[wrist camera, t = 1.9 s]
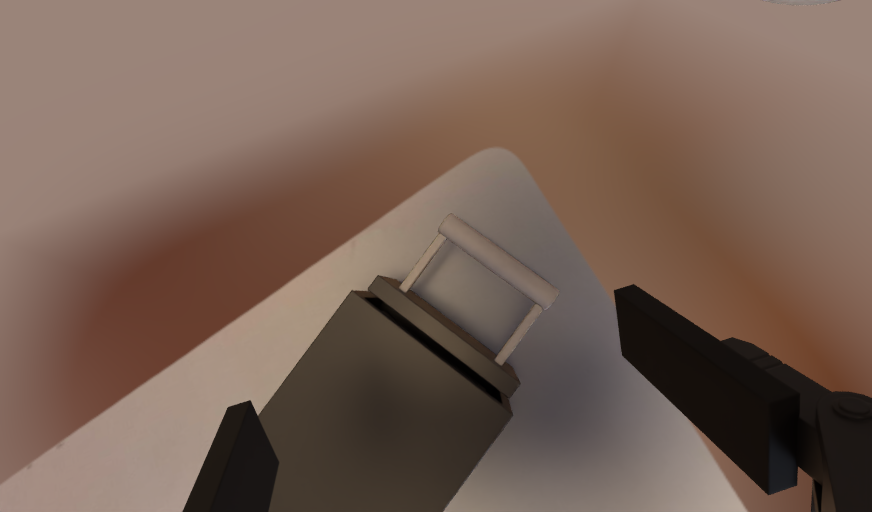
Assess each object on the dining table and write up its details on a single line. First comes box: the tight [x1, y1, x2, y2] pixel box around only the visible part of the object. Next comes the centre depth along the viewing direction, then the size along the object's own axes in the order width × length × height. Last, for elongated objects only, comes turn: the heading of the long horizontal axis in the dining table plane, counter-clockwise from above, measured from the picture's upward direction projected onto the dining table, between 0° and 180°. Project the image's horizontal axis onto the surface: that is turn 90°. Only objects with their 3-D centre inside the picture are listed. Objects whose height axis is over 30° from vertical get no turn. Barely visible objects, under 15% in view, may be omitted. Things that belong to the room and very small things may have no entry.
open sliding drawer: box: [368, 213, 560, 398], centre depth 33 cm, size 20×11×7 cm, turn 143°
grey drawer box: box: [258, 291, 513, 512], centre depth 33 cm, size 15×13×9 cm
